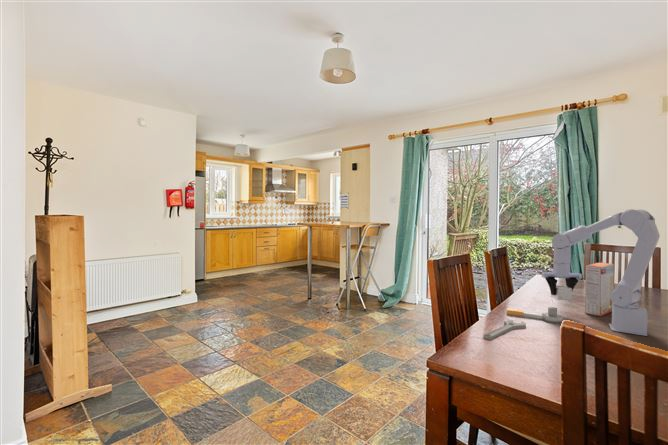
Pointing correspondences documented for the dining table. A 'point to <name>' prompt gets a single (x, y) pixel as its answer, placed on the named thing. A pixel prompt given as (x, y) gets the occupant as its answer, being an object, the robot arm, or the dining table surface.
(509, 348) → the dining table surface
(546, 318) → the ratchet
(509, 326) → the adjustable wrench
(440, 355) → the dining table surface
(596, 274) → the cracker box
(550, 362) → the dining table surface
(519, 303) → the dining table surface
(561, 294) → the socket
